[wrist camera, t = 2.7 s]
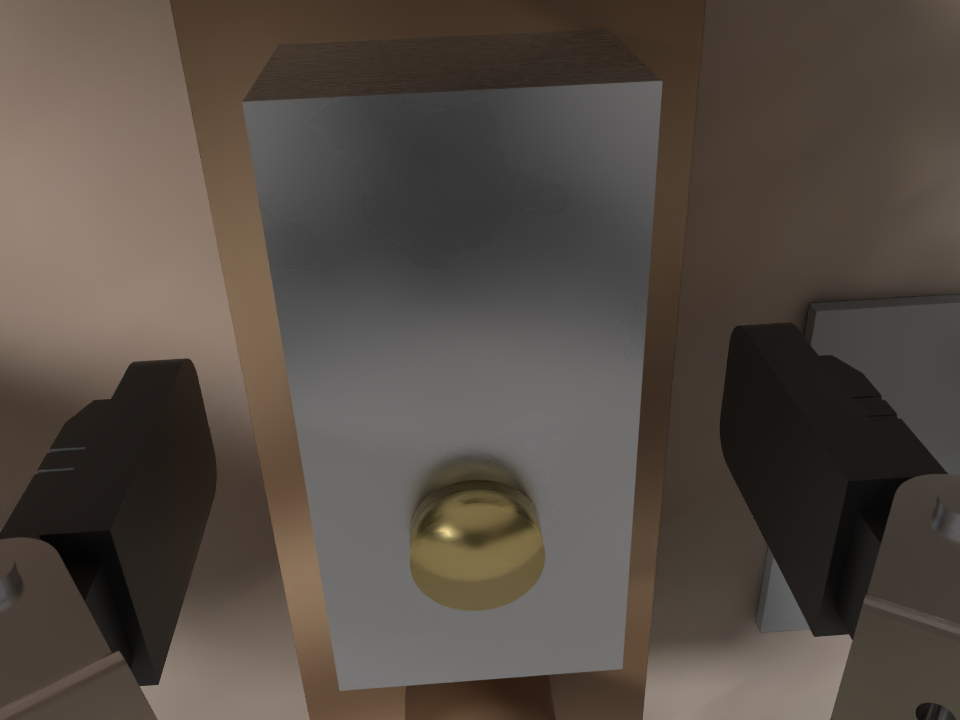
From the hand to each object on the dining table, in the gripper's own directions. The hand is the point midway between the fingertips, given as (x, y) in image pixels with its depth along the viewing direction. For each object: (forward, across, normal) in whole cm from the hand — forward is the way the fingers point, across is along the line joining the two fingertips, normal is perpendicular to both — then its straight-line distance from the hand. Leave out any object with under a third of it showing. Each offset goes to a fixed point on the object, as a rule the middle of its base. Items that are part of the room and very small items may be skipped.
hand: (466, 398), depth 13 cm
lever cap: (+2, 0, 0) cm, 2 cm away
